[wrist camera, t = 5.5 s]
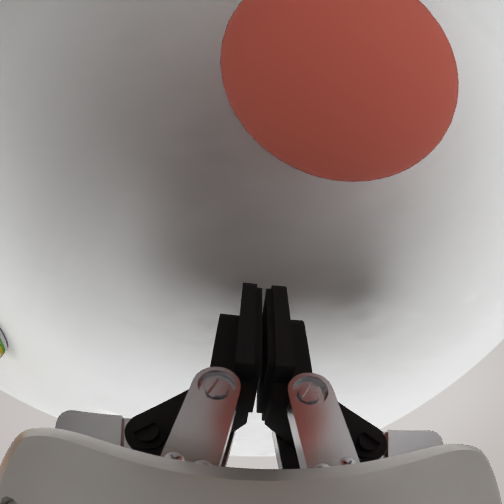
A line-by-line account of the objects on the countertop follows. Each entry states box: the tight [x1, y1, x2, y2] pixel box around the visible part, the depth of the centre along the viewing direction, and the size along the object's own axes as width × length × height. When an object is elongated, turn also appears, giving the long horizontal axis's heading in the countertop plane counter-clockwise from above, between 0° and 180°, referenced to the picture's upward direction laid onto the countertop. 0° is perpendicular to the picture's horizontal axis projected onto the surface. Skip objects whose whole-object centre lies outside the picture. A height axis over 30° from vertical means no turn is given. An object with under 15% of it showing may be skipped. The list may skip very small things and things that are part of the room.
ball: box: [220, 0, 458, 182], centre depth 5 cm, size 6×6×6 cm
